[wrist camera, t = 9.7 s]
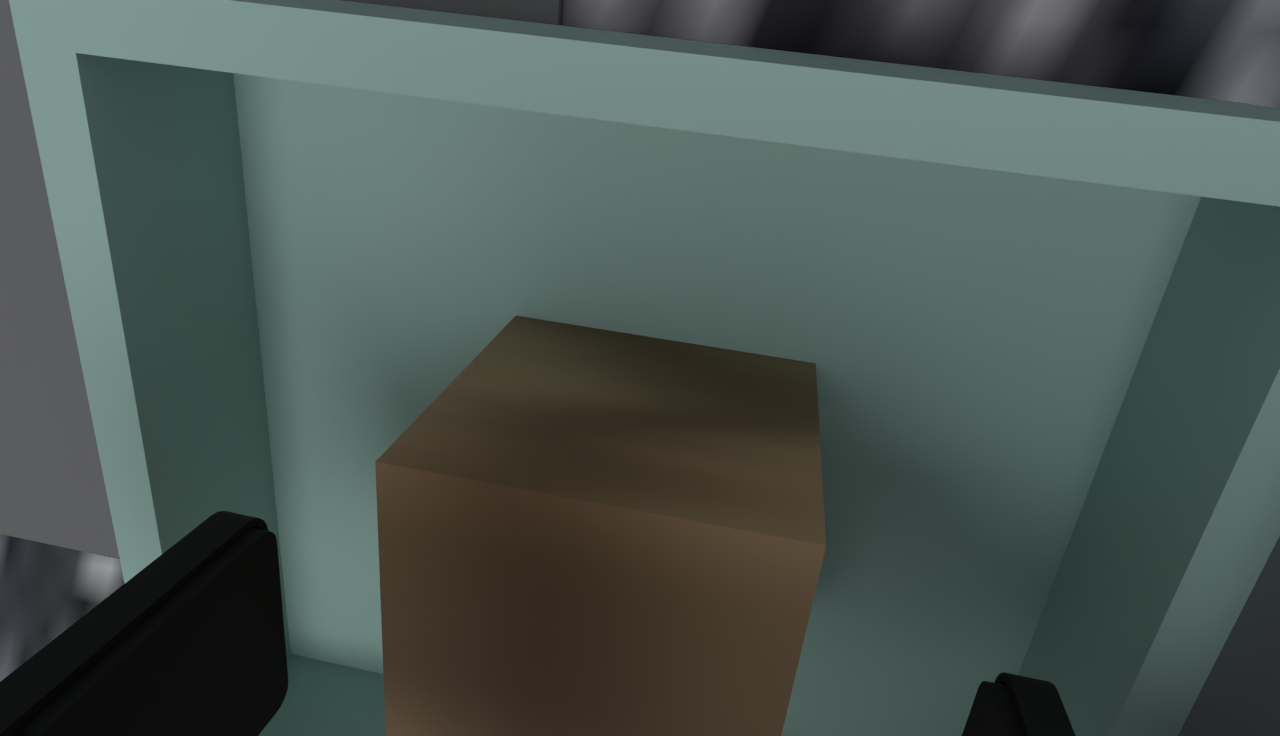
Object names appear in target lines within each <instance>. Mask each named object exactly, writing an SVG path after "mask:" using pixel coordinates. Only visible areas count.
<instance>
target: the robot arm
mask: <svg viewBox="0 0 1280 736" xmlns="http://www.w3.org/2000/svg"><path fill="white" fill-rule="evenodd" d="M287 689H288V669H287V657H286V645H285V632H284V620H283V607H282V595H281V583H280V570H279V558H278V546H277V539H276V536H275V534H274V533H273V532H270V531H268V526H267V524H266V522H265V521H264V520H263V519H260V518H257V517H252V516H247V515H242V514H237V513H233V512H228V511H218V512H216V513H215V514H213V515H211V516H210V517H209V518H207V519H206V520H205V521H204V522H202V523H201V524H200V525H198V526H197V527H196V528H195V529H193V530H192V531H191V532H190V533H188V534H187V535H186V536H185V537H183V538H182V539H181V540H179V541H178V542H177V543H176V544H174V545H173V546H172V547H171V548H169V549H168V550H167V551H166V552H164V553H163V554H162V555H160V556H159V557H158V558H157V559H155V560H154V561H153V562H152V563H150V564H149V565H148V566H147V567H145V568H144V569H143V570H142V571H140V572H139V573H138V574H136V575H135V576H134V577H133V578H131V579H130V580H129V581H128V582H126V583H125V584H124V585H123V586H121V587H120V588H119V589H117V590H116V591H115V592H114V593H112V594H111V595H110V596H109V597H107V598H106V599H105V600H104V601H102V602H101V603H100V604H98V605H97V606H96V607H95V608H93V609H92V610H91V611H90V612H88V613H87V614H86V615H85V616H83V617H82V618H81V619H79V620H78V621H77V622H76V623H74V624H73V625H72V626H71V627H69V628H68V629H67V630H66V631H64V632H63V633H62V634H60V635H59V636H58V637H57V638H55V639H54V640H53V641H52V642H50V643H49V644H48V645H47V646H45V647H44V648H43V649H41V650H40V651H39V652H38V653H36V654H35V655H34V656H33V657H31V658H30V659H29V660H28V661H26V662H25V663H24V664H22V665H21V666H20V667H19V668H17V669H16V670H15V671H14V672H12V673H11V674H10V675H9V676H7V677H6V678H5V679H3V680H2V681H1V682H0V736H258V735H259V734H260V733H261V732H262V730H263V729H264V728H265V727H266V725H267V724H268V723H269V722H270V720H271V719H272V718H273V717H274V715H275V714H276V713H277V711H278V710H279V708H280V707H281V705H282V703H283V701H284V699H285V696H286V693H287ZM962 736H1076V735H1075V733H1074V730H1073V728H1072V725H1071V723H1070V720H1069V718H1068V715H1067V713H1066V710H1065V708H1064V705H1063V703H1062V700H1061V697H1060V695H1059V692H1058V690H1057V689H1056V687H1055V685H1054V684H1052V683H1051V682H1049V681H1044V680H1039V679H1034V678H1029V677H1025V676H1020V675H1015V674H1010V673H1005V672H1003V673H1000V674H999V675H998V676H997V678H996V680H995V682H994V683H993V682H988V681H982V683H981V684H980V685H979V688H978V690H977V693H976V696H975V699H974V701H973V704H972V707H971V710H970V713H969V716H968V719H967V722H966V725H965V728H964V730H963V733H962Z"/></svg>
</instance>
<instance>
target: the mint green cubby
mask: <svg viewBox="0 0 1280 736" xmlns="http://www.w3.org/2000/svg"><path fill="white" fill-rule="evenodd" d="M9 4H10V9H11V14H12V19H13V24H14V29H15V34H16V39H17V44H18V49H19V54H20V59H21V64H22V69H23V74H24V79H25V84H26V89H27V94H28V99H29V104H30V109H31V114H32V119H33V125H34V130H35V135H36V140H37V145H38V150H39V155H40V160H41V165H42V170H43V175H44V180H45V185H46V190H47V195H48V200H49V205H50V210H51V215H52V220H53V225H54V230H55V235H56V240H57V245H58V250H59V255H60V260H61V266H62V271H63V276H64V281H65V286H66V291H67V296H68V301H69V306H70V311H71V316H72V321H73V326H74V331H75V336H76V341H77V346H78V351H79V356H80V361H81V366H82V371H83V376H84V381H85V386H86V391H87V396H88V401H89V406H90V412H91V417H92V422H93V427H94V432H95V437H96V442H97V447H98V452H99V457H100V462H101V467H102V472H103V477H104V482H105V487H106V492H107V497H108V502H109V507H110V512H111V517H112V522H113V527H114V532H115V537H116V542H117V547H118V552H119V558H120V563H121V568H122V573H123V578H124V583H126V582H128V581H129V580H130V579H131V578H133V577H134V576H135V575H136V574H138V573H139V572H140V571H142V570H143V569H144V568H145V567H147V566H148V565H149V564H150V563H152V562H153V561H154V560H155V559H157V558H158V557H159V556H160V555H162V554H163V553H164V552H166V551H167V550H168V549H169V548H171V547H172V546H173V545H174V544H176V543H177V542H178V541H179V540H181V539H182V538H183V537H185V536H186V535H187V534H188V533H190V532H191V531H192V530H193V529H195V528H196V527H197V526H198V525H200V524H201V523H202V522H204V521H205V520H206V519H207V518H209V517H210V516H211V515H213V514H215V513H216V512H218V511H228V512H233V513H237V514H242V515H247V516H252V517H257V518H260V519H263V520H264V521H265V522H266V524H267V526H268V531H270V532H273V533H274V534H275V536H276V539H277V546H278V558H279V570H280V583H281V595H282V607H283V620H284V632H285V645H286V657H287V669H288V689H287V693H286V696H285V699H284V701H283V703H282V705H281V707H280V708H279V710H278V711H277V713H276V714H275V715H274V717H273V718H272V719H271V720H270V722H269V723H268V724H267V725H266V727H265V728H264V729H263V730H262V732H261V733H260V734H259V735H258V736H386V728H385V702H384V676H383V650H382V624H381V599H380V573H379V547H378V521H377V495H376V469H375V461H376V460H377V459H378V458H379V457H380V456H381V455H382V454H383V453H384V452H385V451H386V450H387V449H388V448H389V447H390V446H391V445H392V444H393V443H394V442H395V441H396V440H397V439H398V437H399V436H400V435H401V434H402V433H403V432H404V431H405V430H406V429H407V428H408V427H409V426H410V425H411V424H412V423H413V422H414V421H415V420H416V419H417V418H418V417H419V416H420V415H421V414H422V413H423V411H424V410H425V409H426V408H427V407H428V406H429V405H430V404H431V403H432V402H433V401H434V400H435V399H436V398H437V397H438V396H439V395H440V394H441V393H442V392H443V391H444V390H445V389H446V388H447V387H448V385H449V384H450V383H451V382H452V381H453V380H454V379H455V378H456V377H457V376H458V375H459V374H460V373H461V372H462V371H463V370H464V369H465V368H466V367H467V366H468V365H469V364H470V363H471V362H472V361H473V359H474V358H475V357H476V356H477V355H478V354H479V353H480V352H481V351H482V350H483V349H484V348H485V347H486V346H487V345H488V344H489V343H490V342H491V341H492V340H493V339H494V338H495V337H496V336H497V335H498V333H499V332H500V331H501V330H502V329H503V328H504V327H505V326H506V325H507V324H508V323H509V322H510V321H511V320H512V319H513V318H514V317H515V316H522V317H529V318H535V319H541V320H547V321H554V322H560V323H566V324H572V325H579V326H585V327H591V328H597V329H604V330H610V331H616V332H623V333H629V334H635V335H641V336H648V337H654V338H660V339H666V340H673V341H679V342H685V343H691V344H698V345H704V346H710V347H717V348H723V349H729V350H735V351H742V352H748V353H754V354H760V355H767V356H773V357H779V358H785V359H792V360H798V361H804V362H811V363H816V377H817V394H818V412H819V429H820V447H821V465H822V482H823V500H824V517H825V535H826V548H825V553H824V557H823V561H822V565H821V570H820V574H819V578H818V582H817V587H816V591H815V595H814V599H813V604H812V608H811V612H810V616H809V621H808V625H807V629H806V633H805V638H804V642H803V646H802V650H801V655H800V659H799V663H798V667H797V672H796V676H795V680H794V684H793V689H792V693H791V697H790V701H789V706H788V710H787V714H786V718H785V723H784V727H783V731H782V735H781V736H962V733H963V730H964V728H965V725H966V722H967V719H968V716H969V713H970V710H971V707H972V704H973V701H974V699H975V696H976V693H977V690H978V688H979V685H980V684H981V683H982V681H988V682H993V683H994V682H995V680H996V678H997V676H998V675H999V674H1000V673H1003V672H1005V673H1010V674H1015V675H1020V676H1025V677H1029V678H1034V679H1039V680H1044V681H1049V682H1051V683H1052V684H1054V685H1055V687H1056V689H1057V690H1058V692H1059V695H1060V697H1061V700H1062V703H1063V705H1064V708H1065V710H1066V713H1067V715H1068V718H1069V720H1070V723H1071V725H1072V728H1073V730H1074V733H1075V735H1076V736H1280V110H1279V109H1274V108H1268V107H1262V106H1257V105H1251V104H1245V103H1237V102H1229V101H1220V100H1211V99H1202V98H1194V97H1185V96H1176V95H1167V94H1158V93H1150V92H1141V91H1132V90H1123V89H1114V88H1106V87H1097V86H1088V85H1079V84H1071V83H1062V82H1053V81H1044V80H1035V79H1027V78H1018V77H1009V76H1000V75H991V74H983V73H974V72H965V71H956V70H948V69H939V68H930V67H921V66H912V65H904V64H895V63H886V62H877V61H869V60H860V59H851V58H842V57H833V56H825V55H816V54H807V53H798V52H789V51H781V50H772V49H763V48H754V47H746V46H737V45H728V44H719V43H710V42H702V41H693V40H684V39H675V38H666V37H658V36H649V35H640V34H631V33H623V32H614V31H605V30H596V29H587V28H579V27H570V26H561V25H552V24H543V23H535V22H526V21H517V20H508V19H500V18H491V17H482V16H473V15H464V14H456V13H447V12H438V11H429V10H420V9H412V8H403V7H394V6H385V5H377V4H368V3H359V2H350V1H341V0H9Z"/></svg>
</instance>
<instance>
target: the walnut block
mask: <svg viewBox="0 0 1280 736" xmlns="http://www.w3.org/2000/svg"><path fill="white" fill-rule="evenodd" d="M375 469H376V495H377V521H378V547H379V573H380V599H381V624H382V650H383V676H384V702H385V728H386V736H781V735H782V731H783V727H784V723H785V718H786V714H787V710H788V706H789V701H790V697H791V693H792V689H793V684H794V680H795V676H796V672H797V667H798V663H799V659H800V655H801V650H802V646H803V642H804V638H805V633H806V629H807V625H808V621H809V616H810V612H811V608H812V604H813V599H814V595H815V591H816V587H817V582H818V578H819V574H820V570H821V565H822V561H823V557H824V553H825V548H826V535H825V517H824V500H823V482H822V465H821V447H820V429H819V412H818V394H817V377H816V363H811V362H804V361H798V360H792V359H785V358H779V357H773V356H767V355H760V354H754V353H748V352H742V351H735V350H729V349H723V348H717V347H710V346H704V345H698V344H691V343H685V342H679V341H673V340H666V339H660V338H654V337H648V336H641V335H635V334H629V333H623V332H616V331H610V330H604V329H597V328H591V327H585V326H579V325H572V324H566V323H560V322H554V321H547V320H541V319H535V318H529V317H522V316H515V317H514V318H513V319H512V320H511V321H510V322H509V323H508V324H507V325H506V326H505V327H504V328H503V329H502V330H501V331H500V332H499V333H498V335H497V336H496V337H495V338H494V339H493V340H492V341H491V342H490V343H489V344H488V345H487V346H486V347H485V348H484V349H483V350H482V351H481V352H480V353H479V354H478V355H477V356H476V357H475V358H474V359H473V361H472V362H471V363H470V364H469V365H468V366H467V367H466V368H465V369H464V370H463V371H462V372H461V373H460V374H459V375H458V376H457V377H456V378H455V379H454V380H453V381H452V382H451V383H450V384H449V385H448V387H447V388H446V389H445V390H444V391H443V392H442V393H441V394H440V395H439V396H438V397H437V398H436V399H435V400H434V401H433V402H432V403H431V404H430V405H429V406H428V407H427V408H426V409H425V410H424V411H423V413H422V414H421V415H420V416H419V417H418V418H417V419H416V420H415V421H414V422H413V423H412V424H411V425H410V426H409V427H408V428H407V429H406V430H405V431H404V432H403V433H402V434H401V435H400V436H399V437H398V439H397V440H396V441H395V442H394V443H393V444H392V445H391V446H390V447H389V448H388V449H387V450H386V451H385V452H384V453H383V454H382V455H381V456H380V457H379V458H378V459H377V460H376V461H375Z"/></svg>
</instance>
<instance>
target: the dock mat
mask: <svg viewBox="0 0 1280 736" xmlns="http://www.w3.org/2000/svg"><path fill="white" fill-rule="evenodd" d="M341 1H350V2H359V3H368V4H377V5H385V6H394V7H403V8H412V9H420V10H429V11H438V12H447V13H456V14H464V15H473V16H482V17H491V18H500V19H508V20H517V21H526V22H535V23H543V24H552V25H561V9H562V0H341ZM0 534H3V535H8V536H13V537H18V538H22V539H27V540H32V541H37V542H41V543H46V544H51V545H56V546H60V547H65V548H70V549H75V550H79V551H84V552H89V553H94V554H98V555H103V556H108V557H113V558H117V559H120V558H119V552H118V547H117V542H116V537H115V532H114V527H113V522H112V517H111V512H110V507H109V502H108V497H107V492H106V487H105V482H104V477H103V472H102V467H101V462H100V457H99V452H98V447H97V442H96V437H95V432H94V427H93V422H92V417H91V412H90V406H89V401H88V396H87V391H86V386H85V381H84V376H83V371H82V366H81V361H80V356H79V351H78V346H77V341H76V336H75V331H74V326H73V321H72V316H71V311H70V306H69V301H68V296H67V291H66V286H65V281H64V276H63V271H62V266H61V260H60V255H59V250H58V245H57V240H56V235H55V230H54V225H53V220H52V215H51V210H50V205H49V200H48V195H47V190H46V185H45V180H44V175H43V170H42V165H41V160H40V155H39V150H38V145H37V140H36V135H35V130H34V125H33V119H32V114H31V109H30V104H29V99H28V94H27V89H26V84H25V79H24V74H23V69H22V64H21V59H20V54H19V49H18V44H17V39H16V34H15V29H14V24H13V19H12V14H11V9H10V4H9V0H0Z"/></svg>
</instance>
